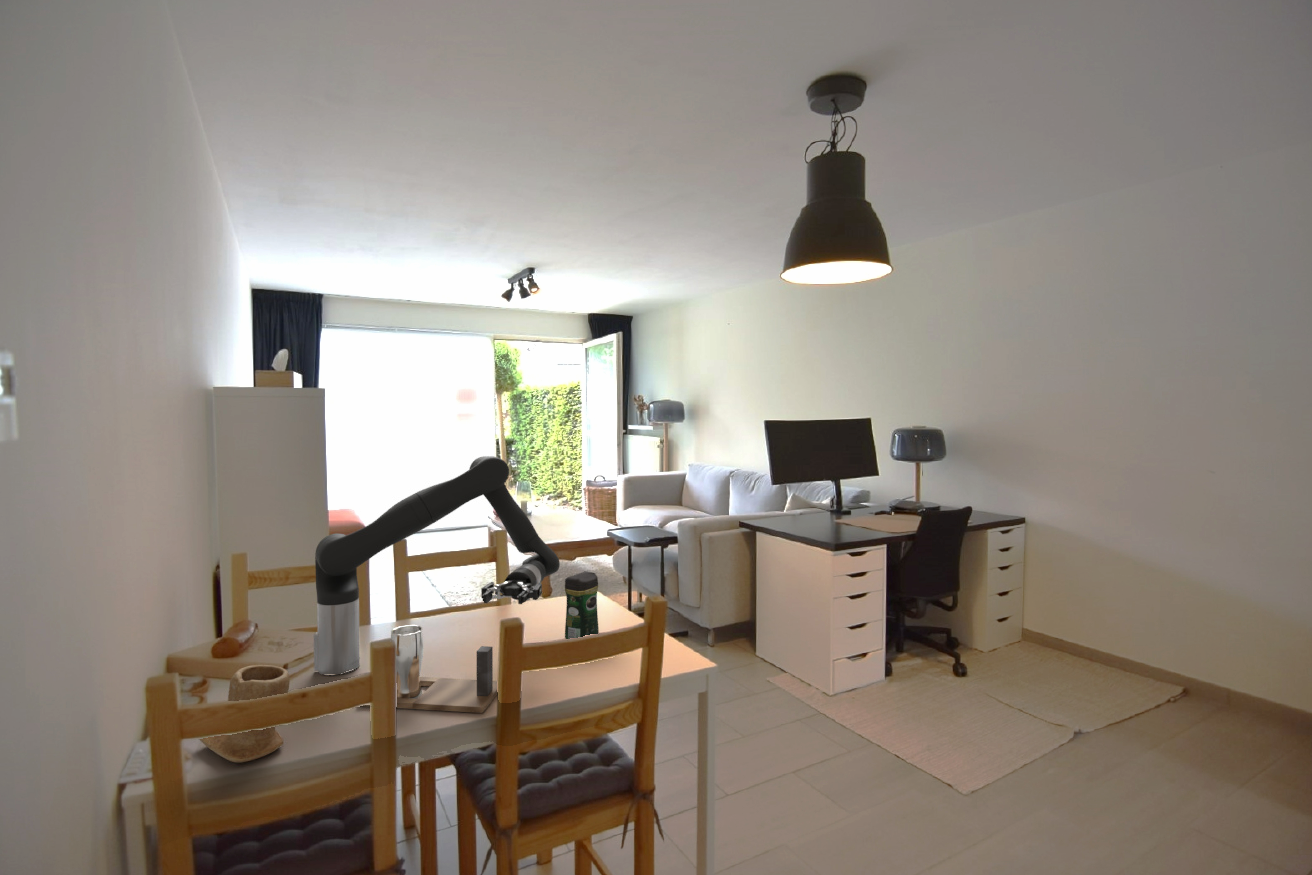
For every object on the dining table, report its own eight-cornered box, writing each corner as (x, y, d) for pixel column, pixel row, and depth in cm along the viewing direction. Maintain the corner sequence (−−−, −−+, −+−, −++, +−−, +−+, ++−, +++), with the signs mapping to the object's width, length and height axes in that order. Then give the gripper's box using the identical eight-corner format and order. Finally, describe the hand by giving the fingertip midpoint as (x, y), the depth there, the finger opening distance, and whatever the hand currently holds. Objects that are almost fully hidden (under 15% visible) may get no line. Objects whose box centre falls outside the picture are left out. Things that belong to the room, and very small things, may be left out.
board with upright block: (357, 705, 136) (356, 654, 135) (388, 680, 149) (388, 633, 148) (482, 712, 133) (482, 660, 133) (503, 686, 146) (503, 638, 145)
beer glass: (430, 690, 144) (429, 626, 143) (410, 704, 137) (410, 636, 137) (404, 687, 146) (403, 623, 145) (383, 700, 139) (383, 633, 138)
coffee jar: (581, 630, 184) (581, 567, 184) (602, 635, 180) (603, 571, 179) (559, 640, 176) (559, 575, 175) (581, 646, 172) (581, 579, 171)
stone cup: (302, 745, 120) (301, 668, 120) (232, 774, 110) (230, 691, 110) (265, 722, 129) (263, 650, 128) (197, 748, 119) (195, 670, 118)
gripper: (497, 566, 167) (473, 583, 151) (549, 567, 165) (531, 585, 149) (497, 594, 167) (473, 614, 151) (549, 595, 166) (531, 616, 149)
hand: (502, 599), depth 150 cm, fingers open, 8 cm apart
